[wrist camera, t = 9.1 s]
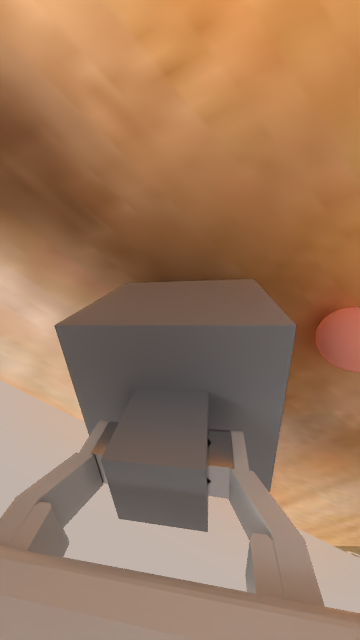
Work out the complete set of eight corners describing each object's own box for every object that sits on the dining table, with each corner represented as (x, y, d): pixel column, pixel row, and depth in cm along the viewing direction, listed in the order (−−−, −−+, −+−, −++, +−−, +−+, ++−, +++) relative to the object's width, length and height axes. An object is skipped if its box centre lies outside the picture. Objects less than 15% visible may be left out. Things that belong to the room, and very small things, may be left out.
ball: (301, 350, 20) (328, 385, 15) (310, 299, 18) (344, 322, 13) (360, 350, 19) (407, 387, 15) (375, 298, 17) (435, 321, 13)
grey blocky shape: (142, 381, 21) (65, 548, 10) (127, 283, 17) (-27, 372, 6) (246, 386, 20) (291, 589, 8) (253, 278, 16) (354, 388, 5)
